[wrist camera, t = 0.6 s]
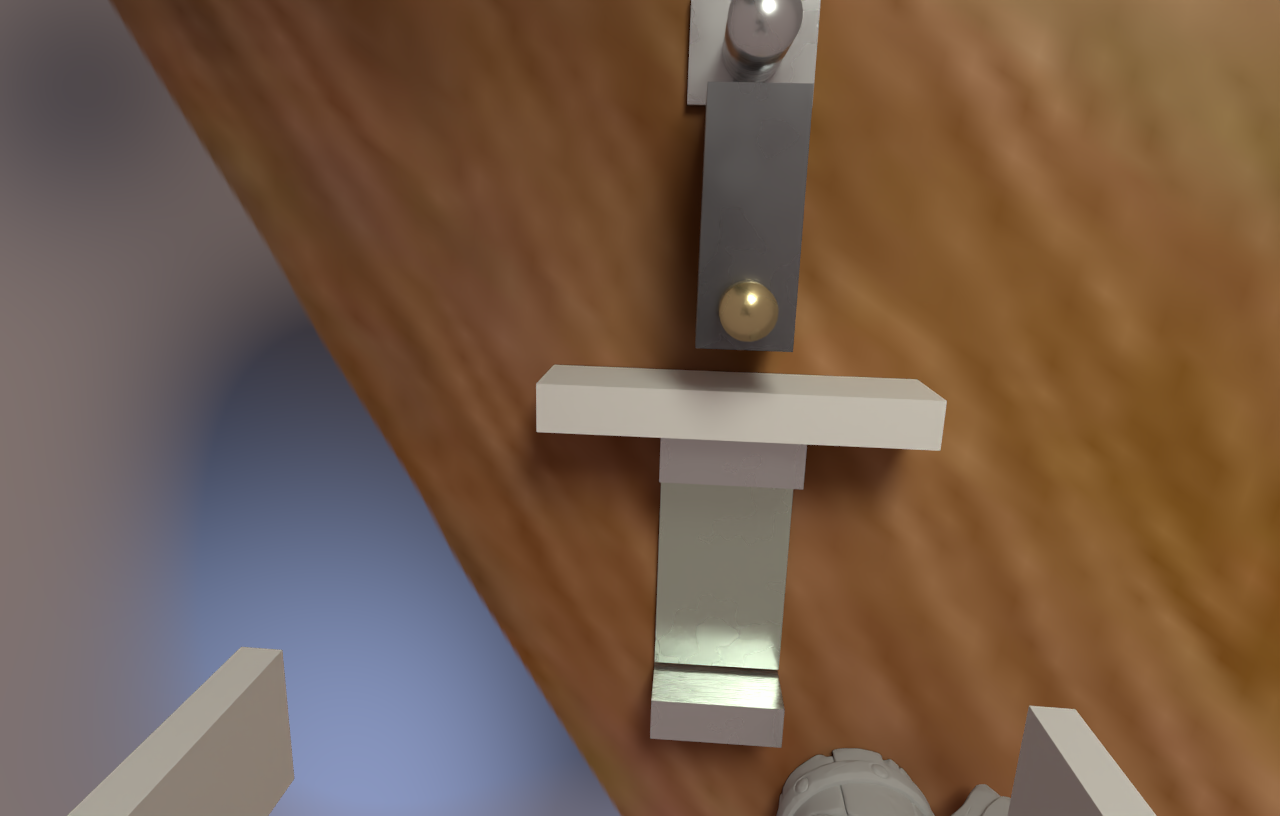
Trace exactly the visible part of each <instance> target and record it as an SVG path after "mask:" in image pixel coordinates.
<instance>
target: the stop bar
mask: <svg viewBox="0 0 1280 816" xmlns="http://www.w3.org/2000/svg"><path fill="white" fill-rule="evenodd" d="M813 87H814V83H757V82H708V84H707V95H706V106H705V128H704V150H703V172H702V194H701V216H700V238H699V260H698V282H697V304H696V325H695V348H705V349H730V350H756V351H782V352H793V343H794V331H795V318H796V305H797V292H798V279H799V267H800V254H801V241H802V228H803V215H804V202H805V190H806V177H807V164H808V151H809V138H810V125H811V113H812V100H813Z"/></svg>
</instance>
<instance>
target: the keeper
mask: <svg viewBox="0 0 1280 816" xmlns="http://www.w3.org/2000/svg"><path fill="white" fill-rule="evenodd" d="M806 452H807V444H786V443H764V442H742V441H720V440H698V439H676V438H661V445H660V473H659V482H661V498H660V525H659V553H658V581H657V608H656V636H655V662H663V663H678V664H694V665H710V666H726V667H741V668H757V669H773V670H779V657H780V645H781V633H782V621H783V608H784V596H785V584H786V572H787V559H788V547H789V535H790V523H791V511H792V498H793V489H803V487H804V475H805V463H806ZM678 664H662V663H655V665H654V677H653V688H652V699H651V726H650V739H665V740H679V741H694V742H708V743H722V744H737V745H751V746H766V747H780V748H781V745H782V733H783V722H784V710H785V709H784V704H783V698H782V693H781V687H780V682H779V677H778V671H772V670H756V669H741V668H725V667H709V666H693V665H678Z"/></svg>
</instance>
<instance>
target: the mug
mask: <svg viewBox="0 0 1280 816" xmlns="http://www.w3.org/2000/svg"><path fill="white" fill-rule="evenodd" d="M833 757H834V758H833ZM833 757H832V756H829V757H825V756H823V755H816V756H814V757H813V758H811V759H809V760H808V761H806V762H805V763H803V764H802V765H800V766H799V767H798V768H796V769H795V770H794V771H793V772H792V774H791V775H790V776H789V777H788V779H787V781H786V783H785V785H784V787H783V793H781V795H780V799H779V809H778V812H777V816H935V815H934V813H933V812H932V811H931V808H930V806H929V804H928V802H927V800H926V798H925V796H924V795H923V793H922V792H921V791H920V790H919V788H918V787H917V786H916V785H915V784H914V783H913V782H912V780H911V778H910V777H909V776H908V774H907V773H906V772H905V771H904V770H903V769H902V768H899V767H898V765H897V764H896V763H895V762H894V761H892V760H891V759H888V760H882V756H881V755H880V754H879V753H876V752H873V751H869V750H864V749H857V748H841V749H835V750H833ZM1010 801H1011V799H1010V798H1009V797H1003V796H1002V797H1001V796H1000V795H999V794H997V793H996V792H995V791H994V790H992V789H991V788H990V787H989V786H987V785H986V784H981V785H977V786H975V787H974V789H973V790H972V791H971V792H970V794H969V796H968V797H967V799H966V801H965V802H964V804H963V805H962V806H961V807H960V808H959V809H958V810H957V811H956V812H954V813H953V814H952V815H951V816H1008V811H1009V806H1010Z"/></svg>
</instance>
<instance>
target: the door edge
mask: <svg viewBox="0 0 1280 816" xmlns="http://www.w3.org/2000/svg"><path fill="white" fill-rule="evenodd" d="M946 403H947V401H946V400H945V399H943V398H942V397H941V396H939V395H938V394H937V393H935V392H934V391H932V390H931V389H930V388H928V387H927V386H926V385H924V384H923V383H921V382H920V381H919V380H917V379H894V378H869V377H844V376H819V375H795V374H770V373H745V372H720V371H695V370H671V369H646V368H621V367H596V366H572V365H553V366H552V367H551V369H550V370H549V371H548V372H547V373H546V374H545V375H544V376H543V377H542V378H541V379H540V380H539V381H538V382H537V383H536V432H545V433H567V434H589V435H611V436H633V437H655V438H676V439H698V440H720V441H742V442H764V443H786V444H807V445H829V446H851V447H873V448H895V449H917V450H938V451H940V449H941V442H942V434H943V426H944V419H945V411H946Z"/></svg>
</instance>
